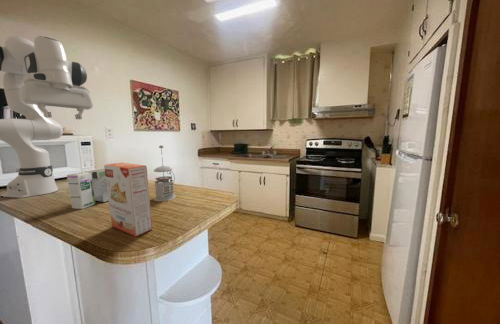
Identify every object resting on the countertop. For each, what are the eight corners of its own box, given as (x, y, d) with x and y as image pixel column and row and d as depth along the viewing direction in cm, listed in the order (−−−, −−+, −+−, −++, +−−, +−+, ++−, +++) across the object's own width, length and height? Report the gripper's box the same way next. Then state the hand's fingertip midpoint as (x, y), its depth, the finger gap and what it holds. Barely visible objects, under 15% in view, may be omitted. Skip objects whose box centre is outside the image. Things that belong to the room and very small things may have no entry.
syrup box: (82, 209, 84) (78, 174, 82) (71, 208, 85) (66, 174, 83) (95, 204, 90) (91, 172, 88) (84, 203, 91) (80, 171, 89)
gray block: (103, 202, 91) (100, 173, 90) (92, 199, 95) (89, 172, 93) (110, 200, 94) (107, 172, 92) (99, 198, 98) (96, 171, 96)
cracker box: (110, 227, 67) (102, 164, 64) (129, 220, 72) (123, 161, 69) (134, 238, 60) (126, 167, 57) (153, 229, 65) (147, 164, 62)
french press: (149, 200, 94) (144, 146, 91) (166, 193, 105) (162, 144, 102) (166, 202, 91) (162, 146, 88) (182, 194, 102) (179, 144, 99)
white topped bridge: (101, 203, 90) (98, 172, 88) (88, 200, 95) (84, 171, 93) (134, 194, 104) (131, 167, 102) (121, 192, 109) (118, 166, 107)
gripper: (84, 89, 88) (90, 121, 89) (15, 77, 70) (23, 118, 71) (92, 85, 86) (98, 118, 86) (22, 72, 67) (31, 114, 68)
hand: (64, 118), depth 79 cm, fingers open, 8 cm apart
